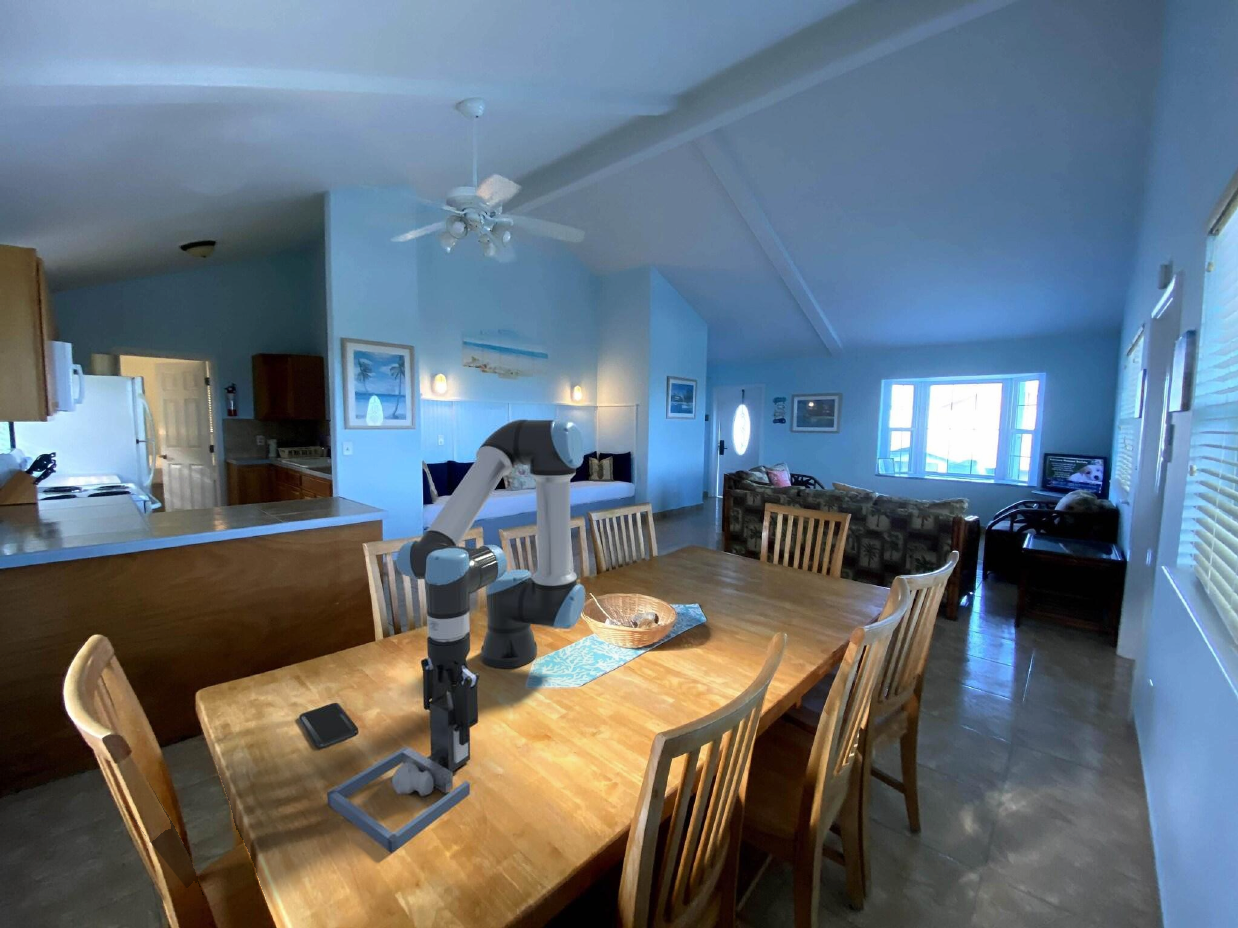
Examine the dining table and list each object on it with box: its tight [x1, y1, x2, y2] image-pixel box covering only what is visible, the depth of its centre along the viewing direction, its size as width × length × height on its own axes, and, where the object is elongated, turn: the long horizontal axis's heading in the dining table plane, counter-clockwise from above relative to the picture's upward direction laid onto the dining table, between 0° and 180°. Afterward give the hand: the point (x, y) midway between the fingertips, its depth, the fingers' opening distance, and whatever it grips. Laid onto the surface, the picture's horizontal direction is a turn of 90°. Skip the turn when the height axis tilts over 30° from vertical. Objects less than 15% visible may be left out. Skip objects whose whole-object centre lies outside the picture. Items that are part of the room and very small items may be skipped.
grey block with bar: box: [402, 692, 471, 794], centre depth 97 cm, size 8×12×12 cm
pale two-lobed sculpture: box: [391, 763, 434, 797], centre depth 92 cm, size 4×8×5 cm
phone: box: [298, 702, 359, 750], centre depth 110 cm, size 8×1×15 cm
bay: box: [326, 746, 471, 854], centre depth 90 cm, size 15×18×2 cm
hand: (450, 752), depth 99 cm, fingers closed on grey block with bar, 5 cm apart
